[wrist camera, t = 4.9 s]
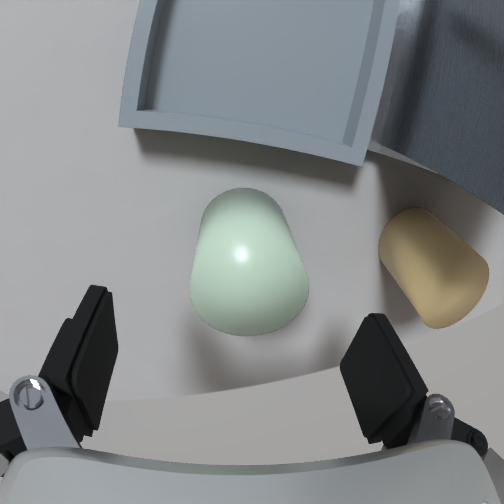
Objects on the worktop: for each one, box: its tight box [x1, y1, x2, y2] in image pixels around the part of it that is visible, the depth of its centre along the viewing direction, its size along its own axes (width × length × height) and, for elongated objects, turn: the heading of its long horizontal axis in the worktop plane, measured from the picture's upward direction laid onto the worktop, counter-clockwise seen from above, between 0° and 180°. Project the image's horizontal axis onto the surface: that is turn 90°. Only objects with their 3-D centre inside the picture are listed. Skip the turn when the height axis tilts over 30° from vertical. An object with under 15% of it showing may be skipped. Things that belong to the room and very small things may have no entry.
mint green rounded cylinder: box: [190, 188, 309, 336], centre depth 15 cm, size 5×5×6 cm
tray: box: [118, 0, 400, 167], centre depth 11 cm, size 12×12×2 cm
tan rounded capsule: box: [378, 208, 489, 329], centre depth 16 cm, size 5×5×6 cm
